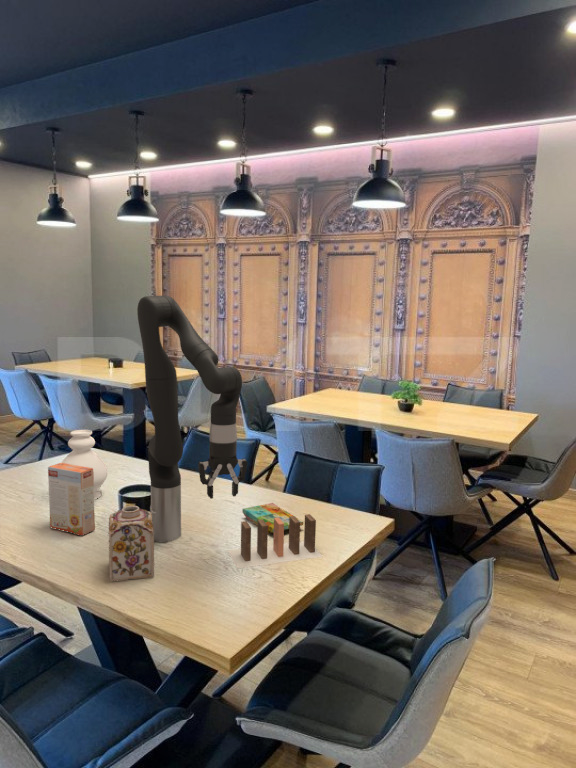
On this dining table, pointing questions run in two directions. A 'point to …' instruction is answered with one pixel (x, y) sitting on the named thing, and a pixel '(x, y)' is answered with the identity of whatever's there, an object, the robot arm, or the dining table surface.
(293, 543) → the domino
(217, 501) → the dining table surface
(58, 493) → the cracker box
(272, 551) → the mat
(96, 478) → the decorative vase
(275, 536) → the domino
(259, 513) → the puzzle game
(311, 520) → the domino
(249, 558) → the domino
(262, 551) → the domino
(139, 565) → the decorative jar
